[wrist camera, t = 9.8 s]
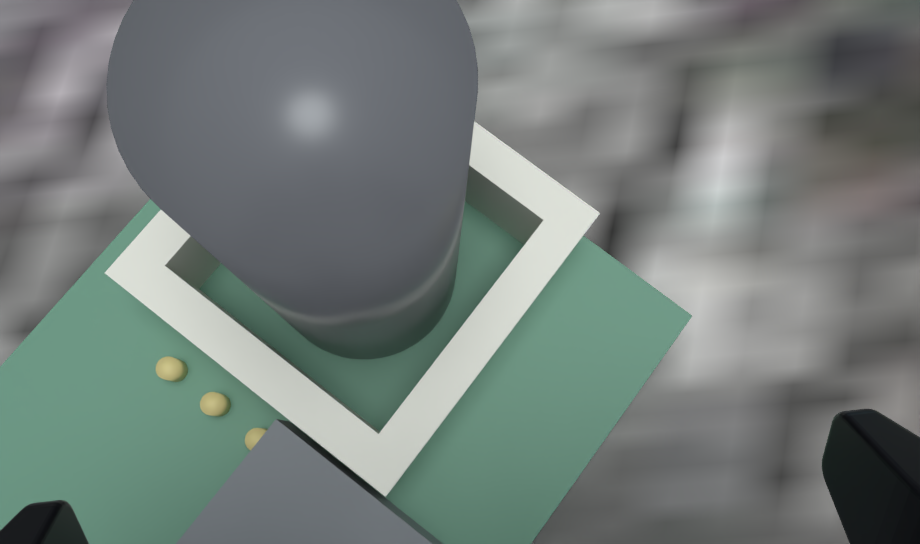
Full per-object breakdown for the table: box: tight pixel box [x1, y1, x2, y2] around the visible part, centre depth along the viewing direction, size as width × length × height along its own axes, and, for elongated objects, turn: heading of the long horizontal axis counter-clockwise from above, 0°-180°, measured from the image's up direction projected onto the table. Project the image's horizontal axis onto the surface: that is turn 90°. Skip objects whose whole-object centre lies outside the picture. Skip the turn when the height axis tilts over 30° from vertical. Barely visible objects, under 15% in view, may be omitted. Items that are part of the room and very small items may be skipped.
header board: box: [0, 121, 692, 544], centre depth 21 cm, size 16×14×4 cm
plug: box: [107, 0, 478, 359], centre depth 17 cm, size 6×5×12 cm
